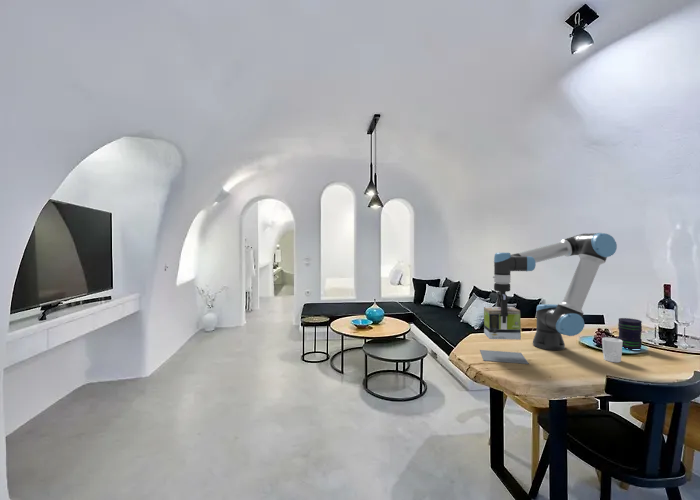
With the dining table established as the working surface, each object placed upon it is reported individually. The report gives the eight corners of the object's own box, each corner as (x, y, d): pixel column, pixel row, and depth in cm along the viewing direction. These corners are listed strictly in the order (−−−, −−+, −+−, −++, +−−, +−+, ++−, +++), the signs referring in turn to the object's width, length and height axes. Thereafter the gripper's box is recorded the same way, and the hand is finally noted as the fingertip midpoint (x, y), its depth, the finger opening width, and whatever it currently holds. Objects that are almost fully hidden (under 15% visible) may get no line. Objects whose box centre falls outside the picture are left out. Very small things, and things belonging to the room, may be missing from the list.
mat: (521, 353, 178) (521, 352, 178) (528, 364, 162) (528, 363, 162) (479, 350, 183) (479, 349, 183) (483, 360, 167) (483, 360, 167)
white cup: (617, 364, 161) (617, 342, 161) (598, 359, 168) (598, 338, 168) (625, 361, 165) (626, 340, 164) (607, 356, 172) (607, 336, 171)
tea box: (513, 334, 179) (513, 306, 178) (521, 340, 169) (521, 310, 168) (483, 334, 180) (483, 306, 180) (489, 339, 170) (489, 309, 170)
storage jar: (638, 346, 187) (639, 319, 187) (644, 351, 178) (644, 323, 178) (616, 344, 192) (616, 317, 191) (620, 349, 183) (620, 321, 182)
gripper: (491, 280, 186) (490, 321, 186) (497, 285, 164) (497, 331, 164) (506, 280, 184) (505, 321, 185) (514, 286, 162) (514, 332, 162)
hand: (501, 326), depth 174 cm, fingers closed on tea box, 10 cm apart
